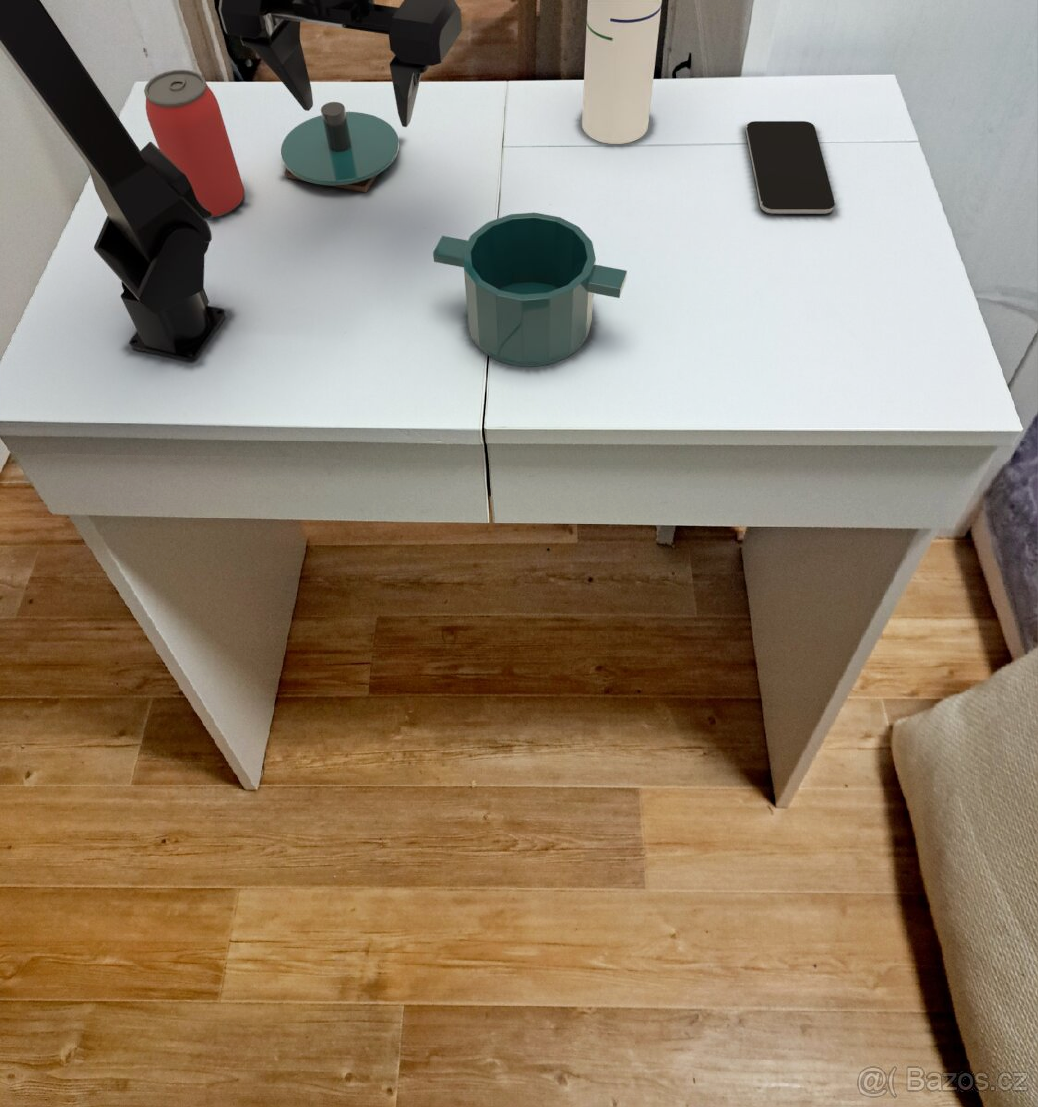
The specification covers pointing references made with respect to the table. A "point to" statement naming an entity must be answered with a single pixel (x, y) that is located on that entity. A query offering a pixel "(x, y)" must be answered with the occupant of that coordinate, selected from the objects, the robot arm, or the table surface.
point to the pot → (529, 286)
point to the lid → (339, 147)
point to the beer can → (194, 137)
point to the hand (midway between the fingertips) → (357, 116)
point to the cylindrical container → (619, 68)
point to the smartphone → (789, 168)
